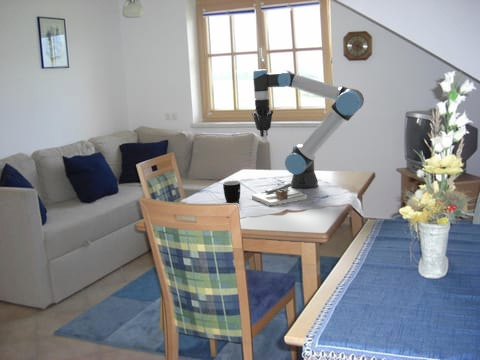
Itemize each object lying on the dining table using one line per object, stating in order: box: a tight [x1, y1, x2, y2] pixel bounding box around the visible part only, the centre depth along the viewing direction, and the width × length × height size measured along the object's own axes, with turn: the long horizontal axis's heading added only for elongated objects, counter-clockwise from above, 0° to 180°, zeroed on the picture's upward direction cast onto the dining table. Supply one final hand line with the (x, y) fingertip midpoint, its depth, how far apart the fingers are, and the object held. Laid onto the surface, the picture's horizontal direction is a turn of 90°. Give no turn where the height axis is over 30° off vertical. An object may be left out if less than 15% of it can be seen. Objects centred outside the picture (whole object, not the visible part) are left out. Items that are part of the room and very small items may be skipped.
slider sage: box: [277, 180, 289, 190], centre depth 303 cm, size 4×4×5 cm
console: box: [251, 188, 308, 206], centre depth 294 cm, size 22×19×4 cm
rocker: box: [264, 181, 292, 194], centre depth 294 cm, size 14×4×2 cm, turn 117°
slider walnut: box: [277, 189, 288, 200], centre depth 286 cm, size 4×4×5 cm
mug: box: [222, 180, 241, 204], centre depth 295 cm, size 12×9×10 cm
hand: (264, 142), depth 307 cm, fingers closed
